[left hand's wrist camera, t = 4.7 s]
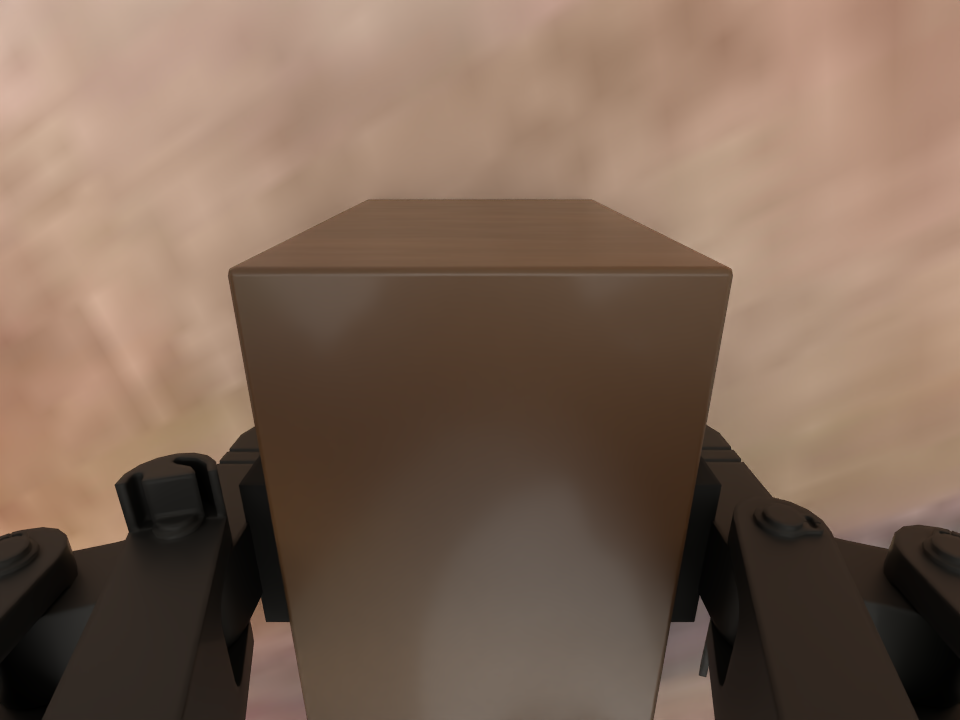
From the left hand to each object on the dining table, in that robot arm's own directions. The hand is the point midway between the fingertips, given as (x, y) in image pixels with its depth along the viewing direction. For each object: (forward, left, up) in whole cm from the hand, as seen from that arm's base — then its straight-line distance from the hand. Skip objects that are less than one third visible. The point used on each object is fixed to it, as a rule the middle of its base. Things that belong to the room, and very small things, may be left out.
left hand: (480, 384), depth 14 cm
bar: (-28, +13, -1) cm, 31 cm away
